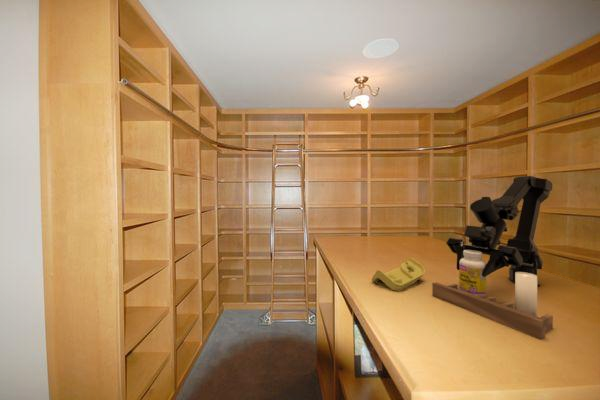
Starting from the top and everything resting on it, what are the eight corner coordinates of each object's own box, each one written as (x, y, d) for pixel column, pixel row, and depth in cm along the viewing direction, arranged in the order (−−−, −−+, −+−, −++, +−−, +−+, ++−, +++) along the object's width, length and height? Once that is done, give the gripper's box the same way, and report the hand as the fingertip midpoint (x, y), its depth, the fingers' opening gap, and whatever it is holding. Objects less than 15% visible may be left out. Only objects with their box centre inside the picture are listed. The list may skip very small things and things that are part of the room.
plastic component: (398, 286, 77) (375, 267, 84) (391, 302, 80) (369, 282, 87) (430, 271, 88) (407, 254, 95) (422, 285, 91) (401, 268, 98)
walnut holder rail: (448, 290, 79) (449, 278, 79) (557, 329, 56) (557, 312, 56) (432, 295, 75) (432, 283, 75) (541, 339, 52) (541, 321, 52)
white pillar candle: (519, 316, 62) (519, 271, 62) (540, 323, 58) (540, 275, 58) (511, 319, 60) (512, 273, 60) (532, 327, 57) (532, 278, 56)
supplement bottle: (454, 291, 74) (454, 250, 73) (468, 287, 76) (468, 248, 76) (477, 299, 67) (477, 255, 67) (491, 295, 70) (491, 252, 69)
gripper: (449, 214, 81) (428, 249, 77) (518, 218, 64) (496, 264, 60) (463, 235, 85) (443, 270, 80) (531, 244, 68) (512, 289, 63)
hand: (469, 272), depth 71 cm, fingers closed on supplement bottle, 7 cm apart
